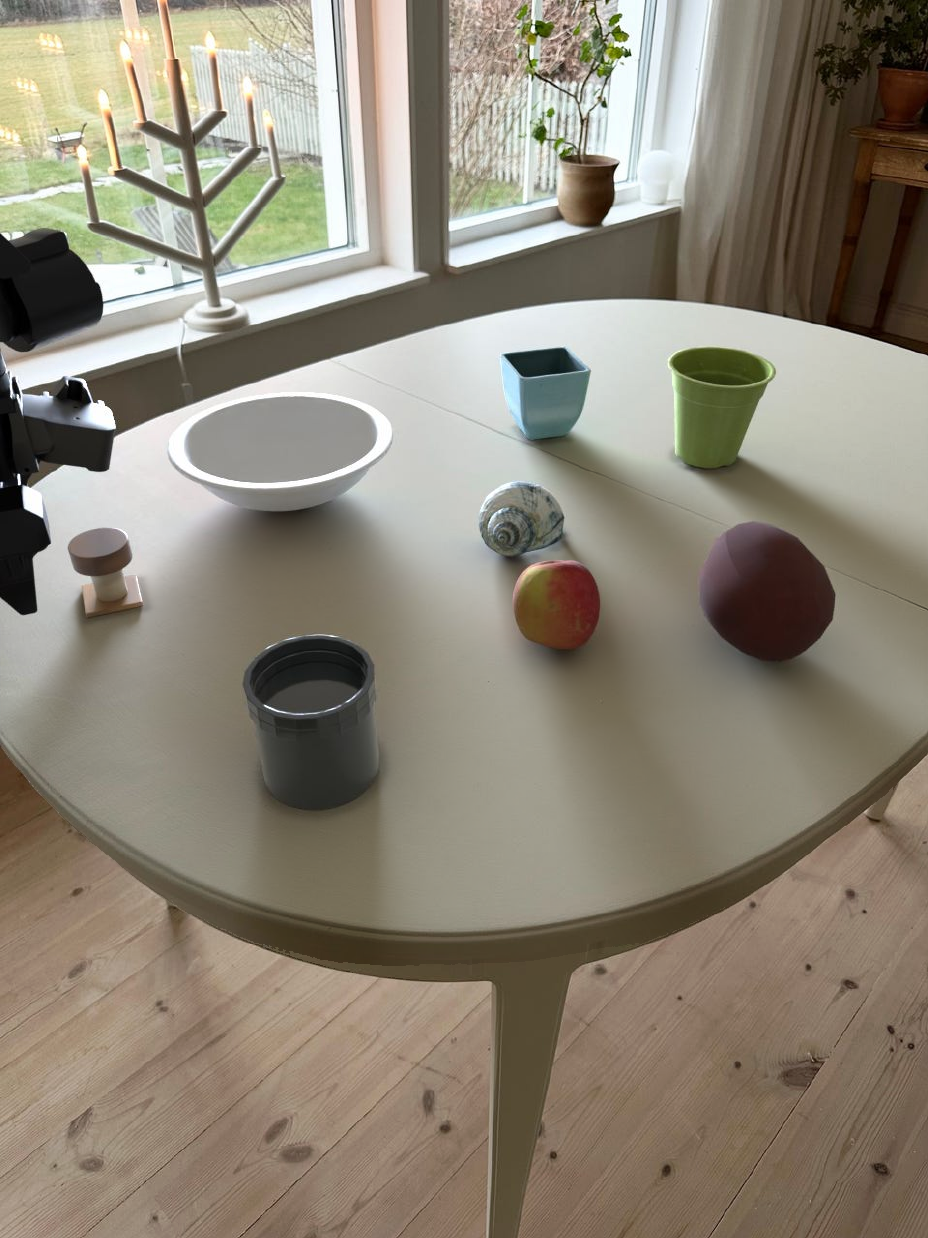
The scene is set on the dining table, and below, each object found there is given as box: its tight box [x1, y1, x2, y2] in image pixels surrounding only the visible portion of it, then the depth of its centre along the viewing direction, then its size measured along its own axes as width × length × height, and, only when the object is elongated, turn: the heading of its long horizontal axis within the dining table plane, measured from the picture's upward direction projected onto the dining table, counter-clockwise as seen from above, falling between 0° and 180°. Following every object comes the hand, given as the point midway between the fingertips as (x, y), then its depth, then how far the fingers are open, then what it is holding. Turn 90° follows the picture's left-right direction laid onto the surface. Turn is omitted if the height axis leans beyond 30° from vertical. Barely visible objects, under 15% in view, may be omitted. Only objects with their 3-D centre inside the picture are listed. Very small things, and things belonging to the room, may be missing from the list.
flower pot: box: [499, 346, 592, 440], centre depth 113 cm, size 9×9×9 cm
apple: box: [512, 559, 601, 650], centre depth 79 cm, size 8×8×8 cm
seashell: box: [478, 480, 565, 557], centre depth 92 cm, size 6×8×12 cm
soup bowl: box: [166, 392, 394, 512], centre depth 101 cm, size 24×24×7 cm
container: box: [242, 634, 380, 811], centre depth 66 cm, size 9×9×9 cm
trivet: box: [81, 573, 144, 619], centre depth 87 cm, size 5×5×1 cm
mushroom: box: [67, 527, 133, 602], centre depth 85 cm, size 5×5×6 cm
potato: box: [698, 520, 837, 663], centre depth 78 cm, size 11×13×10 cm
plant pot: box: [667, 346, 777, 469], centre depth 106 cm, size 12×12×11 cm
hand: (27, 579), depth 68 cm, fingers open, 9 cm apart
